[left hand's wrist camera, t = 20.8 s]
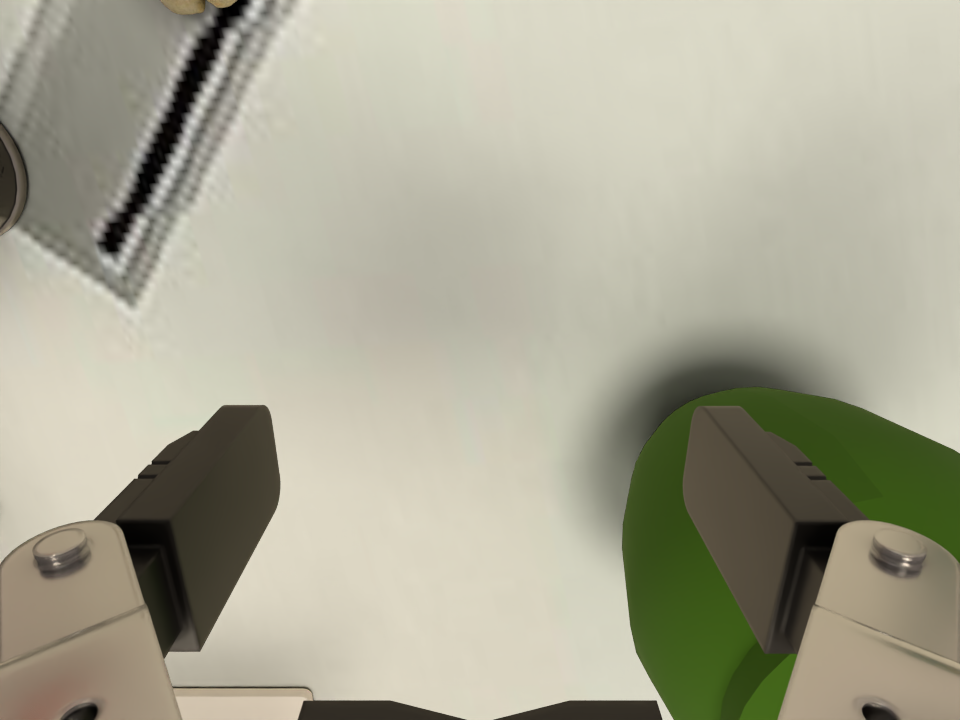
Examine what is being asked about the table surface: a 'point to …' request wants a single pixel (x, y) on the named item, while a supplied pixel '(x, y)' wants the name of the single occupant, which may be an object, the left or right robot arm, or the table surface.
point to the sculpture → (193, 5)
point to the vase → (695, 576)
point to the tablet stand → (241, 703)
